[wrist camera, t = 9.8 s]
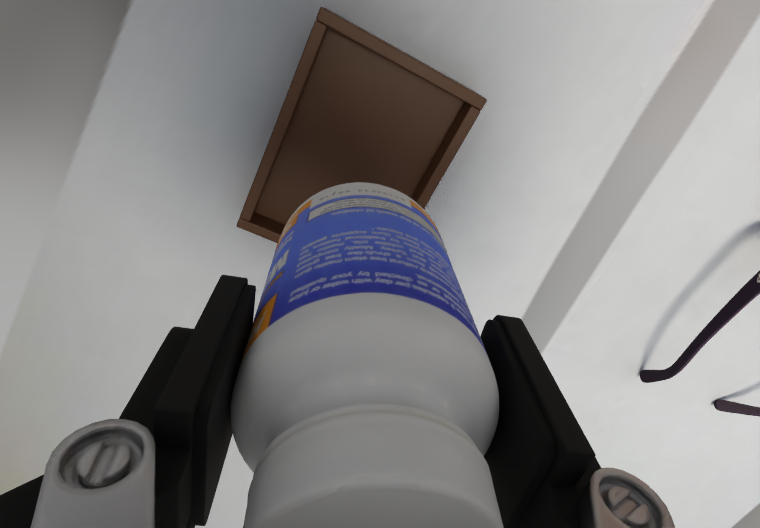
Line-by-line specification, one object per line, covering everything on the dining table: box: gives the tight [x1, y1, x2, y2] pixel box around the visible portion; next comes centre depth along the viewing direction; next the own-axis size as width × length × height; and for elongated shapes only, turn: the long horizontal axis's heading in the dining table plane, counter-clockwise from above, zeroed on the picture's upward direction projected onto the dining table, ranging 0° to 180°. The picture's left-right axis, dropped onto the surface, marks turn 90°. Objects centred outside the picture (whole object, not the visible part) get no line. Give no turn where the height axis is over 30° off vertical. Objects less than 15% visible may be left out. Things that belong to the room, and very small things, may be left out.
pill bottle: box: [231, 182, 504, 528], centre depth 11 cm, size 5×5×10 cm
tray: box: [237, 7, 487, 243], centre depth 25 cm, size 12×9×2 cm
